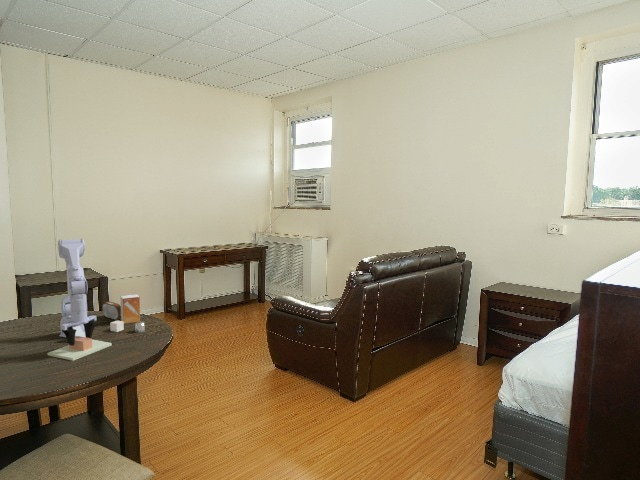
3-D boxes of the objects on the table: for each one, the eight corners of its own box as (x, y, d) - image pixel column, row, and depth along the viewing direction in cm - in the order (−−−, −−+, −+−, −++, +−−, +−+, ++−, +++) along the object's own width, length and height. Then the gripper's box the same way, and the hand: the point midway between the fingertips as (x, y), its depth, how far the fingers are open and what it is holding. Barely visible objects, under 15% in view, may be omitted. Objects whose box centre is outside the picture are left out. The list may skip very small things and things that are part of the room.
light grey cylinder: (133, 332, 193) (133, 323, 193) (140, 329, 197) (139, 321, 196) (140, 333, 192) (140, 324, 191) (146, 330, 195) (146, 322, 195)
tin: (123, 320, 211) (123, 304, 210) (118, 321, 208) (117, 305, 207) (107, 315, 219) (106, 299, 218) (101, 316, 216) (100, 301, 215)
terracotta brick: (69, 348, 169) (68, 339, 169) (78, 344, 173) (77, 336, 172) (83, 350, 166) (83, 341, 166) (92, 347, 170) (91, 338, 170)
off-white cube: (110, 331, 194) (110, 322, 194) (117, 328, 198) (117, 320, 198) (116, 332, 193) (116, 323, 192) (123, 329, 196) (123, 321, 196)
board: (47, 355, 164) (47, 352, 164) (87, 340, 180) (87, 338, 180) (73, 360, 159) (73, 358, 159) (111, 345, 176) (111, 343, 175)
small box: (123, 324, 204) (122, 298, 203) (120, 321, 209) (120, 295, 208) (140, 321, 209) (139, 296, 207) (138, 318, 214) (137, 293, 213)
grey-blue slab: (68, 330, 180) (71, 328, 179) (77, 327, 183) (79, 325, 183) (75, 342, 179) (77, 339, 178) (83, 339, 182) (86, 336, 182)
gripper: (69, 315, 160) (71, 349, 161) (101, 306, 173) (102, 337, 175) (56, 313, 162) (58, 346, 164) (89, 304, 176) (90, 335, 177)
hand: (80, 342), depth 169 cm, fingers open, 7 cm apart
